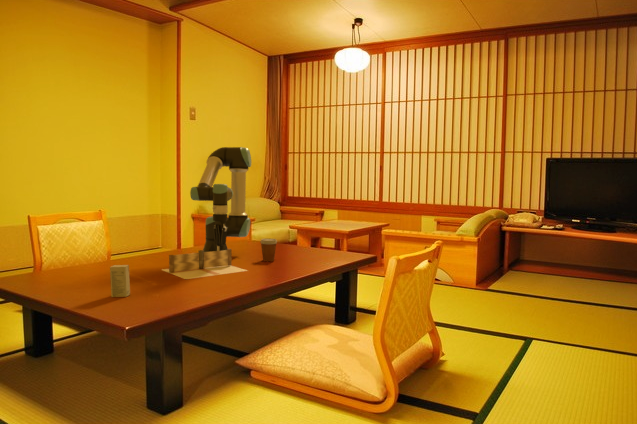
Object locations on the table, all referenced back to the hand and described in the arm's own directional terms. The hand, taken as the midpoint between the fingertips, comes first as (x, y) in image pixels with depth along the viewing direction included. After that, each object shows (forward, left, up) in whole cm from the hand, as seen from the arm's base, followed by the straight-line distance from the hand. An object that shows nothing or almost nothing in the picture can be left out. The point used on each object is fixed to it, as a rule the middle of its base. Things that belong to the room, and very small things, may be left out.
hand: (220, 258), depth 264 cm
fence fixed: (+2, -19, -4) cm, 20 cm away
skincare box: (+31, -62, -5) cm, 70 cm away
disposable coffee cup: (0, +31, -5) cm, 32 cm away
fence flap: (+2, -3, -4) cm, 5 cm away
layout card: (+6, -12, -5) cm, 14 cm away
